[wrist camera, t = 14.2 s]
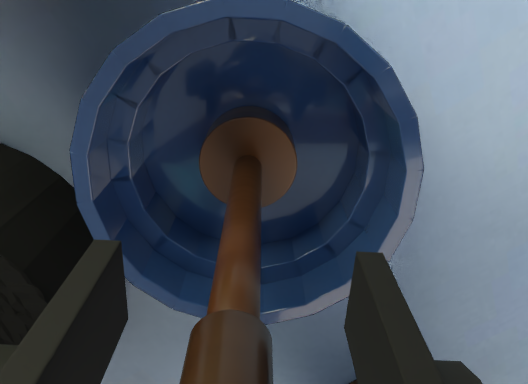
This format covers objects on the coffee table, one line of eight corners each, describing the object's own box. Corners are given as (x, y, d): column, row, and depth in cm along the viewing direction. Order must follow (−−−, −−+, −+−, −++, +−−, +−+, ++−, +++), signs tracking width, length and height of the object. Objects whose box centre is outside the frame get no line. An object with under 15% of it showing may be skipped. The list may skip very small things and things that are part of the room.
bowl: (410, 7, 22) (458, 8, 17) (365, 267, 28) (390, 331, 23) (101, -11, 22) (46, -16, 16) (124, 256, 28) (90, 318, 23)
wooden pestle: (297, 108, 23) (488, 701, 4) (290, 193, 25) (387, 881, 6) (204, 103, 23) (-138, 684, 3) (204, 189, 25) (-13, 874, 5)
